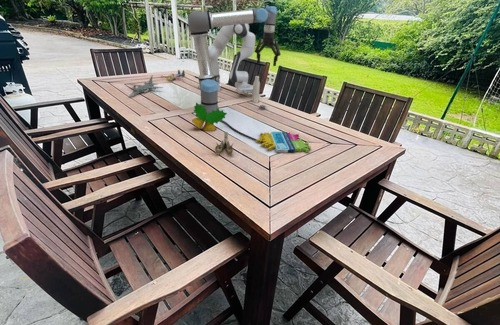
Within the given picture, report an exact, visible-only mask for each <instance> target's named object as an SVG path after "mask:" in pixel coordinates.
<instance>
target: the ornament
mask: <svg viewBox="0 0 500 325" xmlns="http://www.w3.org/2000/svg"><path fill="white" fill-rule="evenodd" d="M219 110H220V108H219V109H217V110H216V111H214V110H212V112H211V113H208V112H206V109H204V106H201V103H198V102H195V105H194V106H193V112H194V113H195V118H192V119H191V122H192V123H193V125H195V127H197V128H198V129H202V130H203V131H206V132H212V131H213V132H214V131H215V130H216V126H215V124H218V123H219V122H222V120H223V119H226V115H227V114H228V113H227V112H224V110H223V109H221V110H220V111H219ZM207 113H208V115H207ZM214 123H215V124H214ZM222 123H223V122H222Z"/></svg>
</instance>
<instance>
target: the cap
mask: <svg viewBox="0 0 500 325" xmlns="http://www.w3.org/2000/svg"><path fill="white" fill-rule="evenodd" d="M259 110H262V111H265V110H266V105H264V104H260V105H259Z"/></svg>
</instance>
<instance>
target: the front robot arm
mask: <svg viewBox="0 0 500 325" xmlns="http://www.w3.org/2000/svg"><path fill="white" fill-rule="evenodd" d="M277 9H278V8H277V7H276V6H273V5H271V6H270V5H266V6H265V8H263V7H260V8H259V7H258V8H255V7H252V8H251V7H250V8H248V9H239V10H232V11H231V10H230V11H221V12H210V11H199V10H193V11H191V12H190V13H189V15H188V17H187V24H188V29H189V33H190V37H192V39H193V42H194V49H195V55H196V60H197V66H198V70H199V75H198V76H197V77H198V78H197V79H198V83H199V86H200V88H199V89H200V104H201V106H204V109H206V112H208V113H211V112H212V110H214V111H216V110H217V109H219V111H221V110H220V108H219V102H218V99H219V98H218V97H219V94H218V93H219V91H218V84H217V82H216V81H215V76H214V74H212V70H211V64H210V57H209V51H208V46H209V45H208V39H207V36H208V34H209V32H208V31H210V30H213V29H214V28H219V27H222V26H229V25H238V24H255V23H256V24H257V23H264V24H263V25H264V26H263V36H262V37H263V38H259V40H258V43H257V45H256V46H255V48H254V53H256V64H260V63H261V52H262V51H263V50H264V48H265V47H267V48H270V49H271V51H272V53H273V54H274V55H273V64H272V66H273V67H276V66H277V62H278V60H279V56H281V51H280V47H279V41H278V40H275V31H276V21H277V14H278V13H277V11H278V10H277ZM208 113H207V115H208ZM222 123H224V124H225V125H226V126H227V127H228V128H230V129H231V130H232V131H234V132H236V133H238V134H240V135H242V136H243V137H246V138H248V139H251V140H253V141H255V142H256V141H257V139H258V138H255V137H252V136H249V135H248V134H245V133H243V132H241V131H239V130H238V129H236V128H234V127H233V126H231V125H230V124H229V123H228V122H226V121H225V120H223V119H222ZM262 143H263V142H260V143H259V144H262Z"/></svg>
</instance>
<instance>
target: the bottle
mask: <svg viewBox="0 0 500 325" xmlns="http://www.w3.org/2000/svg"><path fill="white" fill-rule="evenodd" d="M252 85H253V93H252V98H251V102H252V103H259V102H260V91H259V90H261V89H260V88H261V82H260V76H259V75H255V76H254V81H253V82H252Z"/></svg>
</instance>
